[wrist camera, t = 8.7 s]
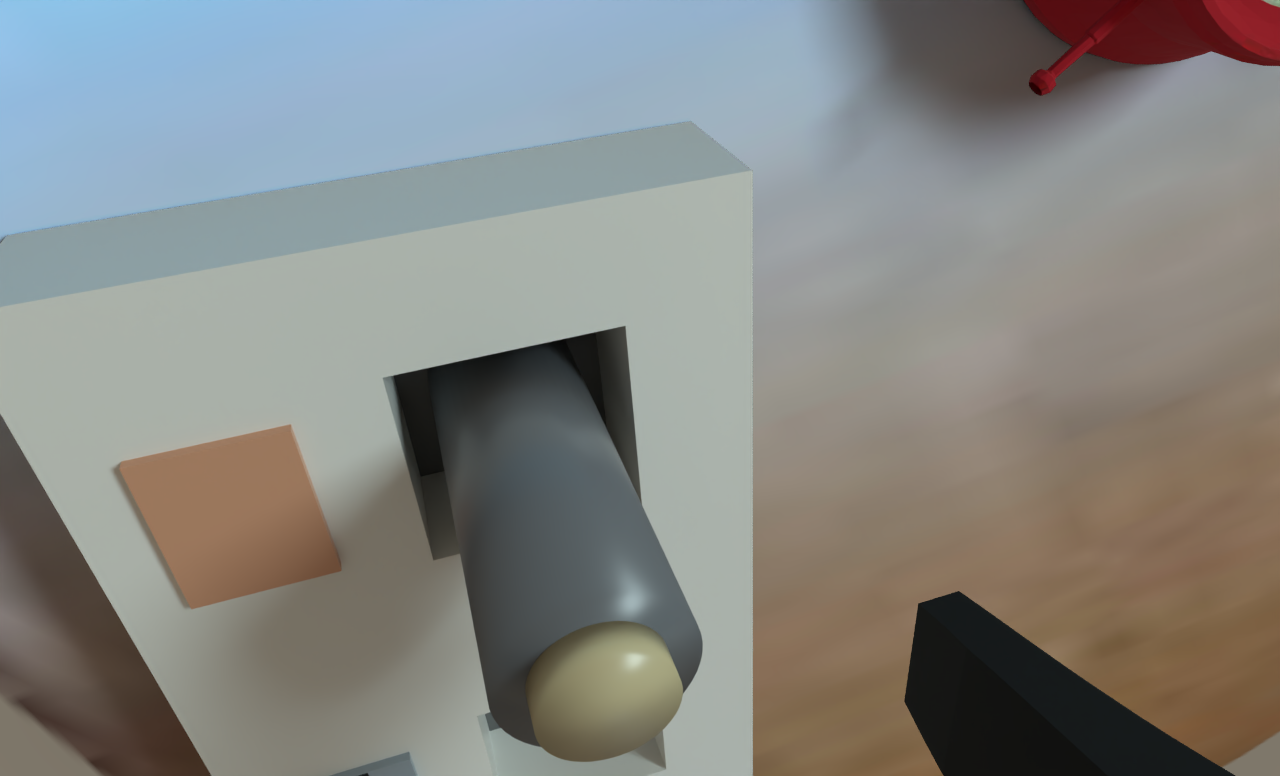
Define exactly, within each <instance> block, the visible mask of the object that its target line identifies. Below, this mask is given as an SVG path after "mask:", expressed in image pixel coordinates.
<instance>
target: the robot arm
mask: <svg viewBox="0 0 1280 776" xmlns="http://www.w3.org/2000/svg"><path fill="white" fill-rule="evenodd" d="M905 703H906V705H907V707H908V709H909V711H910V713H911V715H912V717H913V719H914V721H915V723H916V725H917V727H918V729H919V731H920V733H921V735H922V737H923V739H924V741H925V743H926V744H927V746H928V748H929V750H930V752H931V754H932V755H933V757H934V759H935V761H936V763H937V765H938V767H939V768H940V770H941V772H942V774H943V775H944V776H1235V775H1233V774H1232V773H1230V772H1228V771H1227V770H1225V769H1223V768H1222V767H1220V766H1218V765H1217V764H1215V763H1213V762H1212V761H1210V760H1208V759H1207V758H1205V757H1203V756H1202V755H1200V754H1198V753H1197V752H1195V751H1194V750H1192V749H1190V748H1189V747H1187V746H1185V745H1184V744H1182V743H1181V742H1179V741H1177V740H1176V739H1174V738H1172V737H1171V736H1169V735H1168V734H1166V733H1165V732H1163V731H1161V730H1160V729H1158V728H1157V727H1155V726H1154V725H1152V724H1150V723H1149V722H1147V721H1146V720H1144V719H1143V718H1141V717H1140V716H1138V715H1137V714H1135V713H1134V712H1132V711H1131V710H1129V709H1128V708H1126V707H1125V706H1123V705H1122V704H1120V703H1119V702H1117V701H1116V700H1114V699H1113V698H1111V697H1110V696H1108V695H1107V694H1105V693H1104V692H1102V691H1101V690H1099V689H1098V688H1096V687H1095V686H1093V685H1092V684H1090V683H1089V682H1087V681H1086V680H1084V679H1083V678H1081V677H1080V676H1078V675H1077V674H1076V673H1074V672H1073V671H1071V670H1070V669H1068V668H1067V667H1065V666H1064V665H1063V664H1061V663H1060V662H1058V661H1057V660H1055V659H1054V658H1053V657H1051V656H1050V655H1048V654H1047V653H1045V652H1044V651H1043V650H1041V649H1040V648H1038V647H1037V646H1036V645H1034V644H1033V643H1031V642H1030V641H1029V640H1027V639H1026V638H1024V637H1023V636H1022V635H1020V634H1019V633H1017V632H1016V631H1014V630H1013V629H1012V628H1010V627H1009V626H1008V625H1006V624H1005V623H1003V622H1002V621H1001V620H999V619H998V618H996V617H995V616H994V615H992V614H991V613H989V612H988V611H986V610H985V609H984V608H982V607H981V606H979V605H978V604H977V603H975V602H974V601H972V600H971V599H969V598H968V597H967V596H965V595H964V594H962V593H961V592H959V591H958V592H955V593H951V594H948V595H945V596H942V597H938V598H935V599H932V600H929V601H925V602H922V603H919V604H918V610H917V617H916V624H915V631H914V638H913V645H912V652H911V659H910V666H909V673H908V680H907V687H906V694H905ZM359 776H369V775H368V773H365V774H362V775H359Z"/></svg>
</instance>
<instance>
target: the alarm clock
mask: <svg viewBox="0 0 1280 776" xmlns="http://www.w3.org/2000/svg"><path fill="white" fill-rule="evenodd" d="M1024 2H1025V3H1026V5H1027V6H1028V7H1029V9H1030V10H1031V12H1032V13H1033V14H1034V16H1035V17H1036V18H1037V19H1038V20H1039V21H1040V22H1041V23H1042V24H1043V25H1044V26H1045V27H1046V28H1048V29H1049V30H1050V31H1051V32H1052V33H1053V34H1054V35H1056V36H1057V37H1058V38H1060V39H1061V40H1063V41H1065V42H1066V43H1068V44H1070V45H1071V46H1072V47H1071V48H1070V49H1069V50H1068V51H1067V52H1066V53H1065V54H1064V55H1063V56H1061V57H1060V58H1059V59H1058V60H1057V61H1056V62H1055V63H1054V64H1053V65H1052V66H1051V67H1050V68H1049V69H1048V70H1043V69H1040V70H1038V71H1036V72H1035V73H1034V74H1033V75H1031V77H1030V81H1029V86H1030V88H1031V90H1032V91H1033V92H1034V93H1036V94H1037V95H1040V96H1041V95H1045V94H1048V93H1050V92H1051V91H1052V90H1053V88H1054V87H1055V86H1056V82H1055V79H1056V77H1058V76H1059V75H1060V74H1061V73H1062V72H1063V71H1064V70H1066V69H1067V68H1068V67H1069V66H1070V65H1071V64H1072V63H1074V62H1075V61H1076V60H1077V59H1078V58H1079V57H1081V56H1082V55H1083V54H1084V53H1085V52H1086V53H1090V54H1093V55H1096V56H1100V57H1103V58H1106V59H1110V60H1113V61H1117V62H1122V63H1130V64H1163V63H1169V62H1175V61H1181V60H1184V59H1188V58H1191V57H1195V56H1198V55H1202V54H1205V53H1208V52H1210V51H1212V52H1215V53H1218V54H1221V55H1224V56H1227V57H1230V58H1233V59H1236V60H1239V61H1241V62H1246V63H1252V64H1258V65H1263V66H1280V0H1024Z"/></svg>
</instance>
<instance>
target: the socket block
mask: <svg viewBox="0 0 1280 776" xmlns="http://www.w3.org/2000/svg"><path fill="white" fill-rule="evenodd" d="M561 339H565V341H566V343H567V345H568V347H569V349H570V351H571V353H572V355H573V358H574V360H575V362H576V364H577V366H578V368H579V371H580V373H581V375H582V377H583V379H584V381H585V383H586V386H587V388H588V390H589V392H590V394H591V396H592V398H593V401H594V403H595V405H596V407H597V409H598V411H599V414H600V416H601V418H602V420H603V422H604V424H605V426H606V429H607V431H608V433H609V435H610V437H611V439H612V441H613V444H614V446H615V448H616V450H617V452H618V454H619V457H620V459H621V461H622V463H623V465H624V467H625V469H626V472H627V474H628V476H629V478H630V480H631V482H632V485H633V487H634V489H635V491H636V493H637V495H638V497H639V500H640V502H641V504H642V506H643V508H644V510H645V512H646V515H647V517H648V519H649V521H650V523H651V525H652V528H653V530H654V532H655V534H656V536H657V538H658V540H659V543H660V545H661V547H662V549H663V551H664V553H665V555H666V558H667V560H668V562H669V564H670V566H671V568H672V571H673V573H674V575H675V577H676V579H677V581H678V583H679V586H680V588H681V590H682V592H683V594H684V596H685V598H686V601H687V603H688V605H689V607H690V609H691V611H692V614H693V616H694V618H695V620H696V622H697V624H698V627H699V629H700V632H701V636H702V641H703V652H702V657H701V662H700V665H699V668H698V670H697V673H696V675H695V676H694V678H693V680H692V682H691V683H690V685H689V686H688V688H687V689H686V691H685V692H684V693H683V696H682V701H681V704H680V707H679V709H678V711H677V713H676V715H675V716H674V717H673V719H672V720H671V722H670V723H669V724H668V725H667V726H666V727H665V728H664V729H663V730H662V731H661V732H660V733H659V734H658V735H656V736H655V737H654V738H653V739H651V740H650V741H648V742H647V743H645V744H643V745H642V746H640V747H638V748H636V749H634V750H632V751H630V752H628V753H625V754H622V755H620V756H617V757H613V758H610V759H605V760H600V761H592V762H574V761H568V760H563V759H560V758H557V757H555V756H553V755H551V754H549V753H548V752H546V751H545V750H544V749H543V748H542V747H538V746H533V745H530V744H527V743H524V742H522V741H519V740H517V739H515V738H513V737H512V736H510V735H509V734H507V733H506V732H505V731H504V730H503V729H502V728H501V727H499V726H498V724H497V723H496V721H495V720H494V718H493V717H492V714H491V712H490V710H489V705H488V700H487V695H486V690H485V684H484V679H483V674H482V668H481V663H480V658H479V652H478V647H477V642H476V636H475V631H474V626H473V620H472V615H471V610H470V604H469V599H468V594H467V588H466V583H465V578H464V572H463V567H462V562H461V556H460V551H459V546H458V540H457V535H456V530H455V524H454V519H453V514H452V508H451V503H450V498H449V493H448V487H447V482H446V477H445V471H444V466H443V461H442V455H441V450H440V445H439V439H438V434H437V429H436V423H435V418H434V413H433V407H432V402H431V397H430V391H429V386H428V368H430V367H435V366H440V365H444V364H449V363H454V362H458V361H463V360H468V359H472V358H477V357H482V356H486V355H491V354H496V353H500V352H505V351H510V350H514V349H519V348H524V347H528V346H533V345H538V344H542V343H547V342H552V341H556V340H561ZM0 414H1V416H2V417H3V419H4V421H5V423H6V424H7V426H8V428H9V429H10V431H11V433H12V435H13V436H14V438H15V440H16V441H17V443H18V445H19V447H20V448H21V450H22V452H23V453H24V455H25V457H26V459H27V460H28V462H29V464H30V465H31V467H32V469H33V471H34V472H35V474H36V476H37V477H38V479H39V481H40V483H41V484H42V486H43V488H44V489H45V491H46V493H47V495H48V496H49V498H50V500H51V501H52V503H53V505H54V507H55V508H56V510H57V512H58V513H59V515H60V517H61V519H62V520H63V522H64V524H65V525H66V527H67V529H68V531H69V532H70V534H71V536H72V537H73V539H74V541H75V543H76V544H77V546H78V548H79V549H80V551H81V553H82V555H83V556H84V558H85V560H86V561H87V563H88V565H89V567H90V568H91V570H92V572H93V573H94V575H95V577H96V579H97V580H98V582H99V584H100V585H101V587H102V589H103V591H104V592H105V594H106V596H107V597H108V599H109V601H110V603H111V604H112V606H113V608H114V609H115V611H116V613H117V615H118V616H119V618H120V620H121V621H122V623H123V625H124V627H125V628H126V630H127V632H128V633H129V635H130V637H131V639H132V640H133V642H134V644H135V645H136V647H137V649H138V651H139V652H140V654H141V656H142V657H143V659H144V661H145V663H146V664H147V666H148V668H149V669H150V671H151V673H152V675H153V676H154V678H155V680H156V681H157V683H158V685H159V687H160V688H161V690H162V692H163V693H164V695H165V697H166V699H167V700H168V702H169V704H170V705H171V707H172V709H173V711H174V712H175V714H176V716H177V717H178V719H179V721H180V723H181V724H182V726H183V728H184V729H185V731H186V733H187V735H188V736H189V738H190V740H191V741H192V743H193V745H194V747H195V748H196V750H197V752H198V753H199V755H200V757H201V759H202V760H203V762H204V764H205V765H206V767H207V769H208V771H209V772H210V774H211V776H359V775H362V774H365V773H368V775H369V776H753V170H752V169H750V168H749V167H748V166H747V165H745V164H744V163H743V162H742V161H740V160H739V159H738V158H737V157H735V156H734V155H733V154H732V153H730V152H729V151H728V150H727V149H725V148H724V147H723V146H722V145H720V144H719V143H718V142H717V141H715V140H714V139H713V138H712V137H710V136H709V135H708V134H707V133H705V132H704V131H703V130H702V129H700V128H699V127H698V126H697V125H695V124H694V123H693V122H692V121H689V122H683V123H677V124H671V125H665V126H659V127H653V128H647V129H641V130H635V131H629V132H623V133H617V134H611V135H606V136H600V137H594V138H588V139H582V140H576V141H570V142H564V143H558V144H552V145H546V146H540V147H534V148H528V149H522V150H516V151H510V152H504V153H498V154H492V155H486V156H480V157H474V158H468V159H462V160H456V161H450V162H444V163H438V164H432V165H426V166H420V167H414V168H408V169H402V170H396V171H390V172H384V173H378V174H372V175H366V176H360V177H354V178H348V179H342V180H336V181H330V182H324V183H318V184H312V185H306V186H300V187H294V188H288V189H282V190H276V191H270V192H264V193H258V194H252V195H246V196H240V197H234V198H228V199H222V200H216V201H210V202H204V203H198V204H192V205H186V206H180V207H174V208H168V209H162V210H156V211H150V212H144V213H138V214H132V215H126V216H120V217H114V218H108V219H102V220H96V221H90V222H84V223H78V224H72V225H66V226H60V227H54V228H48V229H42V230H36V231H30V232H24V233H18V234H12V235H7V236H6V237H5V238H4V240H3V241H2V242H1V243H0Z"/></svg>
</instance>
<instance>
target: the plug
mask: <svg viewBox="0 0 1280 776" xmlns="http://www.w3.org/2000/svg"><path fill="white" fill-rule="evenodd" d="M428 386H429V391H430V397H431V402H432V407H433V413H434V418H435V423H436V429H437V434H438V439H439V445H440V450H441V455H442V461H443V466H444V471H445V477H446V482H447V487H448V493H449V498H450V503H451V508H452V514H453V519H454V524H455V530H456V535H457V540H458V546H459V551H460V556H461V562H462V567H463V572H464V578H465V583H466V588H467V594H468V599H469V604H470V610H471V615H472V620H473V626H474V631H475V636H476V642H477V647H478V652H479V658H480V663H481V668H482V674H483V679H484V684H485V690H486V695H487V700H488V705H489V710H490V712H491V714H492V717H493V718H494V720H495V721H496V723H497V724H498V726H499V727H501V728H502V729H503V730H504V731H505V732H506V733H507V734H509V735H510V736H512V737H513V738H515V739H517V740H519V741H522V742H524V743H527V744H530V745H533V746H538V747H542V748H543V749H544V750H545V751H546V752H548V753H549V754H551V755H553V756H555V757H557V758H560V759H563V760H568V761H574V762H592V761H600V760H605V759H610V758H613V757H617V756H620V755H622V754H625V753H628V752H630V751H632V750H634V749H636V748H638V747H640V746H642V745H643V744H645V743H647V742H648V741H650V740H651V739H653V738H654V737H655V736H656V735H658V734H659V733H660V732H661V731H662V730H663V729H664V728H665V727H666V726H667V725H668V724H669V723H670V722H671V720H672V719H673V717H674V716H675V715H676V713H677V711H678V709H679V707H680V704H681V701H682V696H683V693H684V692H685V691H686V689H687V688H688V686H689V685H690V683H691V682H692V680H693V678H694V676H695V675H696V673H697V670H698V668H699V665H700V662H701V657H702V652H703V641H702V636H701V632H700V629H699V627H698V624H697V622H696V620H695V618H694V616H693V614H692V611H691V609H690V607H689V605H688V603H687V601H686V598H685V596H684V594H683V592H682V590H681V588H680V586H679V583H678V581H677V579H676V577H675V575H674V573H673V571H672V568H671V566H670V564H669V562H668V560H667V558H666V555H665V553H664V551H663V549H662V547H661V545H660V543H659V540H658V538H657V536H656V534H655V532H654V530H653V528H652V525H651V523H650V521H649V519H648V517H647V515H646V512H645V510H644V508H643V506H642V504H641V502H640V500H639V497H638V495H637V493H636V491H635V489H634V487H633V485H632V482H631V480H630V478H629V476H628V474H627V472H626V469H625V467H624V465H623V463H622V461H621V459H620V457H619V454H618V452H617V450H616V448H615V446H614V444H613V441H612V439H611V437H610V435H609V433H608V431H607V429H606V426H605V424H604V422H603V420H602V418H601V416H600V414H599V411H598V409H597V407H596V405H595V403H594V401H593V398H592V396H591V394H590V392H589V390H588V388H587V386H586V383H585V381H584V379H583V377H582V375H581V373H580V371H579V368H578V366H577V364H576V362H575V360H574V358H573V355H572V353H571V351H570V349H569V347H568V345H567V343H566V341H565V339H561V340H556V341H552V342H547V343H542V344H538V345H533V346H528V347H524V348H519V349H514V350H510V351H505V352H500V353H496V354H491V355H486V356H482V357H477V358H472V359H468V360H463V361H458V362H454V363H449V364H444V365H440V366H435V367H430V368H428Z"/></svg>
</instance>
